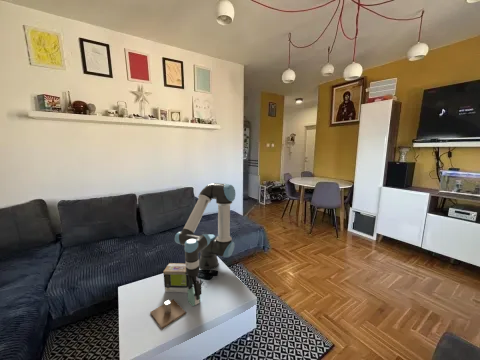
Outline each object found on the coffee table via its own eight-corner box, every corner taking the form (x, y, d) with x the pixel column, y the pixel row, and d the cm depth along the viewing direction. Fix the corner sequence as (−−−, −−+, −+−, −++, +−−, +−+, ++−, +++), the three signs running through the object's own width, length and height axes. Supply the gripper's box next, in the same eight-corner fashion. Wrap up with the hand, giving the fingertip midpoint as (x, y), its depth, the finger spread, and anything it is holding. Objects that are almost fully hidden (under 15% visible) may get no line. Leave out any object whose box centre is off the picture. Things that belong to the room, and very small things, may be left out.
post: (169, 309, 118) (168, 300, 117) (171, 311, 116) (170, 302, 115) (164, 311, 116) (164, 302, 115) (166, 314, 115) (166, 305, 114)
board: (173, 300, 126) (173, 298, 126) (185, 313, 117) (185, 311, 116) (150, 313, 117) (150, 312, 116) (161, 329, 107) (161, 327, 107)
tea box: (192, 282, 142) (191, 263, 139) (187, 293, 132) (186, 272, 130) (170, 282, 143) (169, 262, 140) (164, 292, 133) (162, 271, 130)
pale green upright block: (195, 297, 129) (195, 286, 127) (200, 301, 125) (199, 290, 124) (188, 301, 125) (187, 290, 124) (192, 306, 121) (192, 294, 120)
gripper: (178, 262, 124) (181, 296, 129) (195, 275, 112) (197, 313, 116) (189, 257, 130) (191, 290, 134) (207, 269, 117) (208, 305, 121)
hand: (194, 300), depth 125 cm, fingers closed on pale green upright block, 5 cm apart
